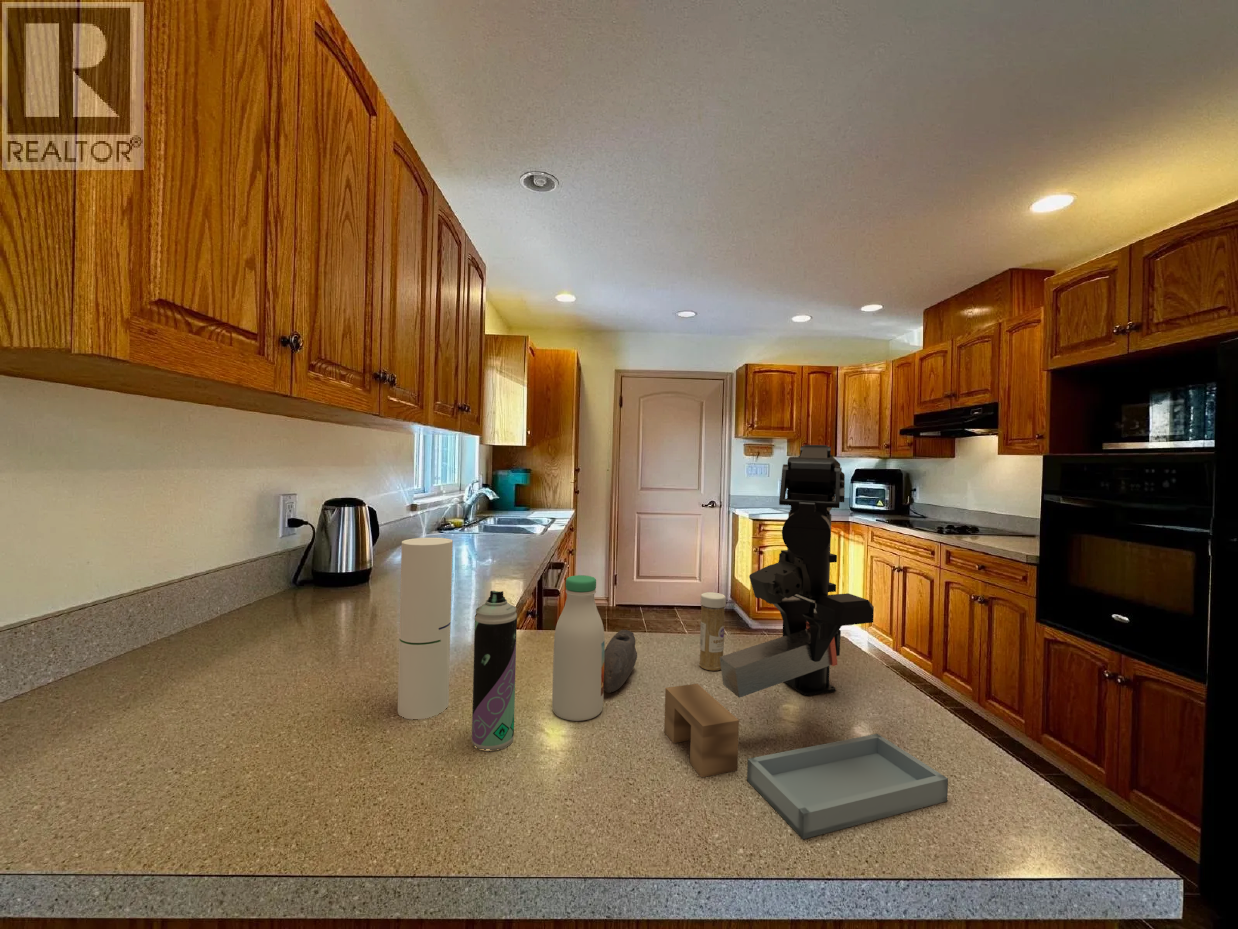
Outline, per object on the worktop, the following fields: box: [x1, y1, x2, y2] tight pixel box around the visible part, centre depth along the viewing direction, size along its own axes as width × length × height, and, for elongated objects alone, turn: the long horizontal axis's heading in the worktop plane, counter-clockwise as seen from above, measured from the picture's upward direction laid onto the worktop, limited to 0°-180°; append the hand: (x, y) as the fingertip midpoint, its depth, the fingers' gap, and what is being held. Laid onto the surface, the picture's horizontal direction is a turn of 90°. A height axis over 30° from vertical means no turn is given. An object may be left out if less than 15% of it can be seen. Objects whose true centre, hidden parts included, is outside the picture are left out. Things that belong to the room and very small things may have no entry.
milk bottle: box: [551, 574, 606, 722], centre depth 78 cm, size 8×8×20 cm
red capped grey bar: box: [720, 622, 838, 699], centre depth 71 cm, size 16×5×5 cm, turn 109°
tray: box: [746, 733, 949, 840], centre depth 60 cm, size 20×10×3 cm, turn 109°
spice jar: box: [698, 591, 727, 672], centre depth 95 cm, size 5×5×13 cm
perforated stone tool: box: [604, 629, 638, 693], centre depth 88 cm, size 15×5×7 cm, turn 165°
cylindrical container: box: [397, 537, 453, 720], centre depth 77 cm, size 7×7×25 cm
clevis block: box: [663, 683, 740, 778], centre depth 68 cm, size 5×11×6 cm, turn 19°
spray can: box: [471, 590, 518, 750], centre depth 69 cm, size 6×6×20 cm
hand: (805, 655), depth 73 cm, fingers closed on red capped grey bar, 4 cm apart
